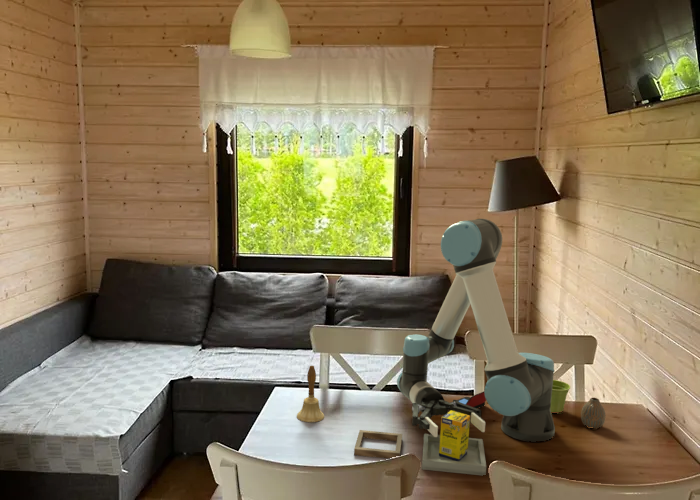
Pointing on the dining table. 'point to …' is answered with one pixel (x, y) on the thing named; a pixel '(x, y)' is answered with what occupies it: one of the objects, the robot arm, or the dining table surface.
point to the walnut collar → (377, 452)
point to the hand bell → (311, 402)
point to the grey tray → (467, 465)
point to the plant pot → (558, 395)
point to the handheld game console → (474, 400)
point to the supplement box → (454, 435)
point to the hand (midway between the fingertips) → (460, 429)
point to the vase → (593, 413)
